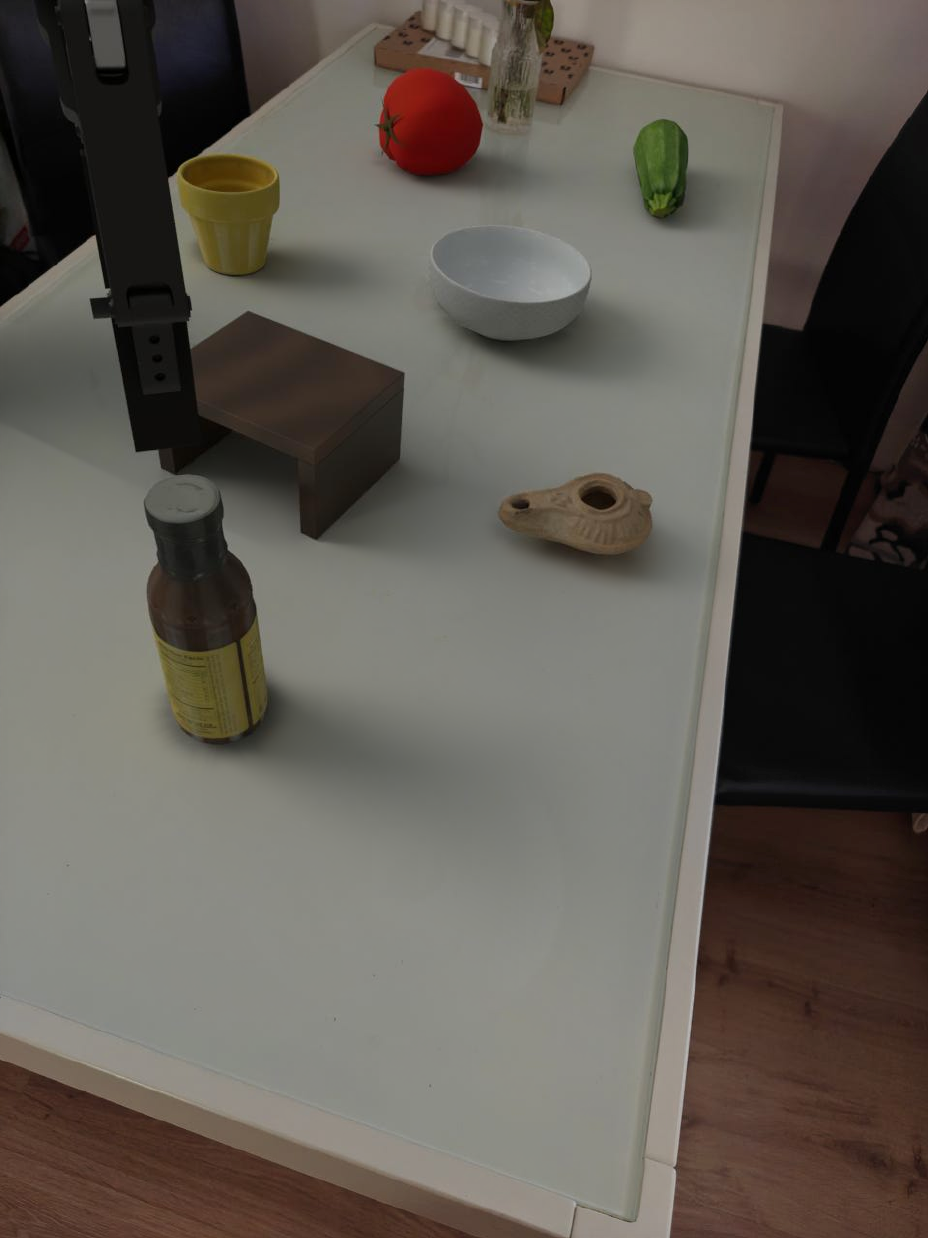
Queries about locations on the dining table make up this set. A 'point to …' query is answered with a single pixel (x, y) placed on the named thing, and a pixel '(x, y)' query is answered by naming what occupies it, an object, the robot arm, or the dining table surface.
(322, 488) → the shelf
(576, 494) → the pottery oil lamp
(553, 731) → the dining table surface
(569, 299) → the cereal bowl
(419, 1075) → the dining table surface
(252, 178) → the flower pot
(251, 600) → the sauce bottle
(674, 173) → the vegetable
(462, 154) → the tomato
